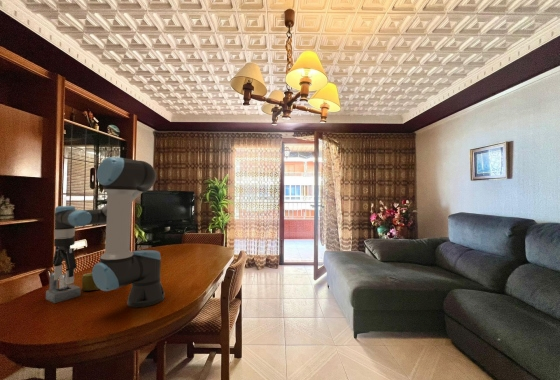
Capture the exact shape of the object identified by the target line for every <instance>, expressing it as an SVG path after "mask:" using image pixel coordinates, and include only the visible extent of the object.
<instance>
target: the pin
mask: <svg viewBox="0 0 560 380" xmlns="http://www.w3.org/2000/svg"><path fill="white" fill-rule="evenodd" d="M68 285H69V284H66V273H62V274H61V275H59V279H58V286H59V287H58V288H59V291H63V290H67V289H68Z"/></svg>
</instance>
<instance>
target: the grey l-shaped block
mask: <svg viewBox="0 0 560 380" xmlns="http://www.w3.org/2000/svg"><path fill="white" fill-rule="evenodd" d="M58 286H59V279H57V280H54V272H51V273H49V289H48V290H45V300H47V301H48V302H50V303H53V304H56V303H60V302H63V301H68V300H70V299H74V298H78V297H81V295H82V291H81V290H82V289H81V288H82V287H80V286H78V285H75V284H74V283H71V284H68V289H67V290H63V291H59V287H58Z"/></svg>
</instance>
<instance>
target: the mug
mask: <svg viewBox="0 0 560 380" xmlns="http://www.w3.org/2000/svg"><path fill="white" fill-rule="evenodd" d="M81 282H82V287H81V288H82V289H81V290H82V291H83V292H88V291H89V292H90V291H98V290H100V289H99V288H98V287H97V286H96V284H95V282H94V280H93V276H92V272H88V273H83V275H82V279H81Z"/></svg>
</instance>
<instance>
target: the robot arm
mask: <svg viewBox="0 0 560 380" xmlns="http://www.w3.org/2000/svg"><path fill="white" fill-rule="evenodd" d="M96 179H97V182H98V183H99V184H100V185H102V186H103V187H102V188H103V191H104V192H105V193H107V199H106V200H107V201H106V204H105V205H104V206H103V207H101V208H100V209H98V208H97V209H79V210H77V209H76V207H75V206H74V205H62V206H61V205H59V206H56V207H55V208H54V230H53V235H54V236H53V237H54V239H53V245H54V247H55V250H54V256H53V260H52V262H51V263H52V265H53V266H54V267H53V268H54V269H53V270H54V271H53V273H54V280H57V279H58V280H59V275H61V274H63V273H62V272H63V265H64V264H63V261H64V263H65V266H66V269H65V272H66V273H65V274H66V284H68V285H70V284H74V282H75V269H77V261H76V258H75V250H74V248H73V247H72V248H71V246H73V245H75V243H76V242H75V240H76V239H75V232H76V231H77V230H76V229H75V228H76V227H77V228H79V227H85V226H93V225H104V224H105V242H104V243H105V245H104V247H105V248H104V253H103V254H102V255H100V257H99V262H97V263H96V264H94V265H93V267H92V270H91V271H92V272H91V273H92V276H93V280H94V282H95V284H96V286H97V287H98V288H99V289H98V290H100V291H103V292H110V291H112V290H118V289H120V288H121V287H125V286H128V285H131V287H130V288H131V289H130V290H129V293H128V297H127V306H128V307H130V308H145V307H149V306H154V305H156V304H158V303H160V302H162V301H163V300H164V299H165V290H164V287H163V285H162V282H161V266H162V265H161V263H162V258H161V252H160V251H158V250H151V249H144V250H143V249H142V250H139V249H138V250H134V251H131V250H130V248H131V228H132V227H131V226H132V208H133V207H132V205H133V201H135V200H136V199H137V198H138V197H140V196H141V194H142V193H146V192H148V191H149V190H150V189H152V188H153V186H154V184H155V183H156V180H157V172H156V170H155V168H154V167H153V165H151V163H148V162H146V161H143V160H138V159H137V160H136V159H131V158H126V157H125V158H124V157H120V156H119V157H117V156H116V157H115V156H110V157H106V158H104V159H103V160H102V161H101V162H100V164H99V165H98V168H97V171H96Z"/></svg>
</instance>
